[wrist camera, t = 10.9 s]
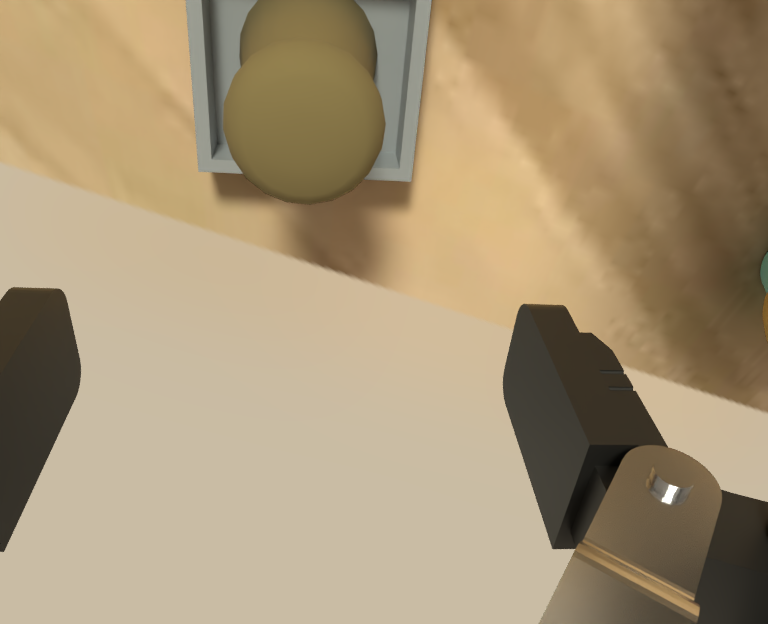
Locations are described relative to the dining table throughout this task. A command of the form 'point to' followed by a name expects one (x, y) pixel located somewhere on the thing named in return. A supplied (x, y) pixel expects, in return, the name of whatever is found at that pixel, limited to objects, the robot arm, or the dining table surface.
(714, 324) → the dining table surface
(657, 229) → the dining table surface
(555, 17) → the dining table surface
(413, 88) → the grey tray
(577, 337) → the robot arm
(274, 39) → the olive pawn
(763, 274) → the cupcake
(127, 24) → the dining table surface
